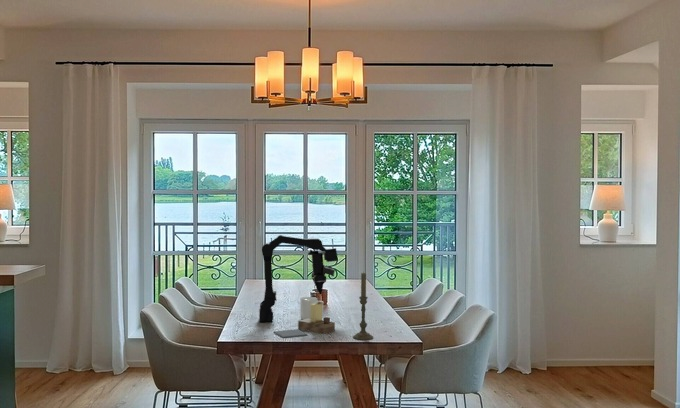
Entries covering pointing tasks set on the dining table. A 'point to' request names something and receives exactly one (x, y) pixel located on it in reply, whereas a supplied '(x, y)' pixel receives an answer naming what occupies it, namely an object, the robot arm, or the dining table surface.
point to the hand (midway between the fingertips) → (319, 292)
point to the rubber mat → (290, 333)
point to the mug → (307, 306)
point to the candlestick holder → (363, 312)
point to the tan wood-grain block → (316, 312)
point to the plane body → (317, 325)
